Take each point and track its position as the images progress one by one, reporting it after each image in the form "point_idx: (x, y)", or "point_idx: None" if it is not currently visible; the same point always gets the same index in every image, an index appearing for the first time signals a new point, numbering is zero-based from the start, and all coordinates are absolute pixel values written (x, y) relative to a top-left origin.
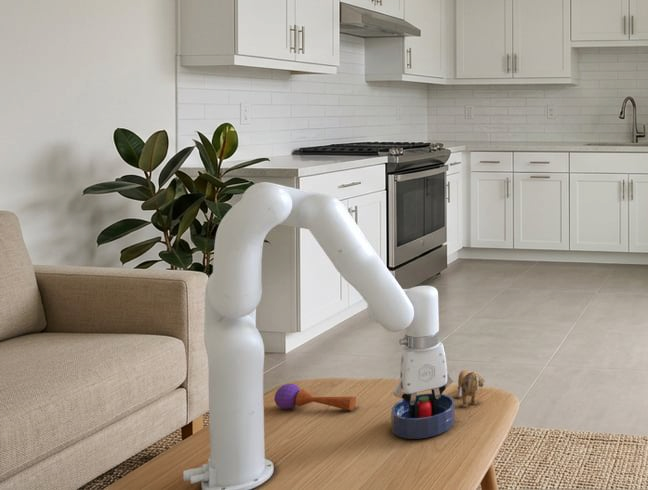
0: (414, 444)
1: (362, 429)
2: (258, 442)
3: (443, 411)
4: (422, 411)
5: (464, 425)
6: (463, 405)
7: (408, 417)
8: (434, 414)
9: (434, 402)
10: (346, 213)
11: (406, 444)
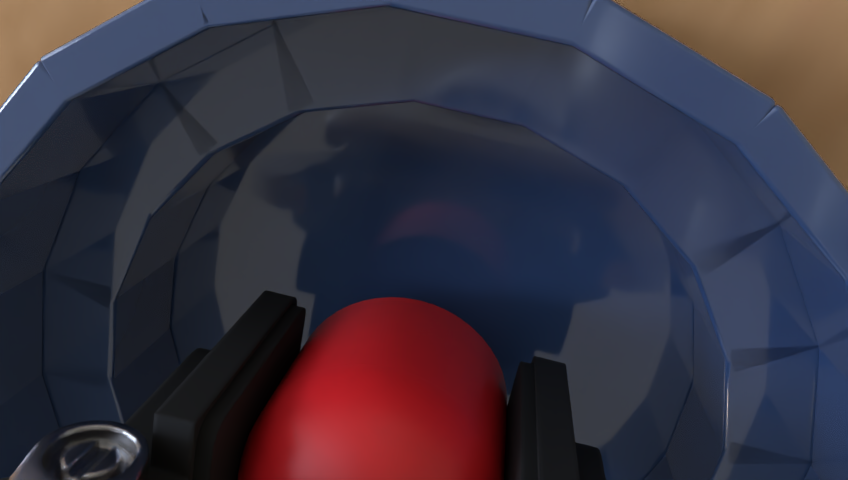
0: (753, 19)
1: None
2: None
3: (141, 370)
4: (454, 390)
5: (58, 22)
6: None
7: None
8: (289, 310)
9: (213, 403)
10: None
11: (819, 97)
